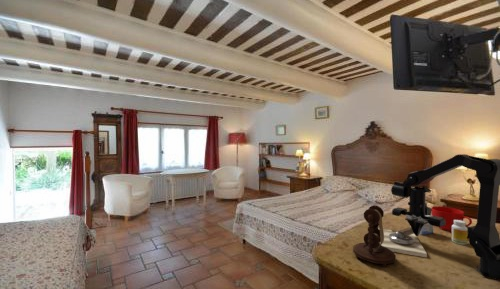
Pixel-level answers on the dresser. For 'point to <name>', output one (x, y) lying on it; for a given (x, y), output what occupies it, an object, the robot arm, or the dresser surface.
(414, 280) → the dresser surface
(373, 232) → the brown tall stacked figurine
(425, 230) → the medicine box
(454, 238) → the supplement bottle
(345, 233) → the dresser surface
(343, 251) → the dresser surface
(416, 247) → the ash stand
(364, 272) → the dresser surface
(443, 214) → the ceramic cup
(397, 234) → the cam lever
